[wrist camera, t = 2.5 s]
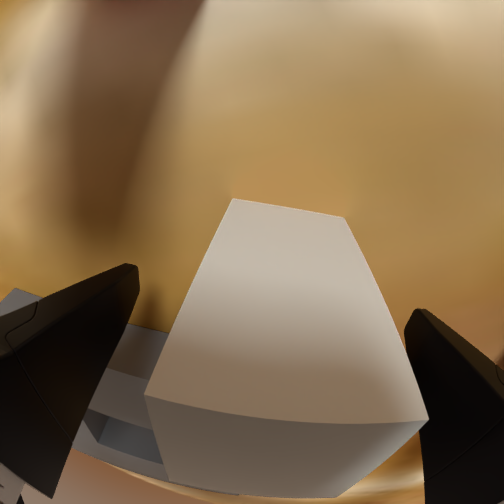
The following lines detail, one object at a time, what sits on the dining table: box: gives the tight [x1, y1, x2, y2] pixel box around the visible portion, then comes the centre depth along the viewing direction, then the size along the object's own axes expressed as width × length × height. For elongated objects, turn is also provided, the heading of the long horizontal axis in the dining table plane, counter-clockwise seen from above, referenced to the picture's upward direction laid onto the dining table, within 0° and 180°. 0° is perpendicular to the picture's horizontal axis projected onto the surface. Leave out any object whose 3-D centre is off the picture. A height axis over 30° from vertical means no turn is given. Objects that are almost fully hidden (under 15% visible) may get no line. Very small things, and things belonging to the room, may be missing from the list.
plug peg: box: [144, 199, 429, 498], centre depth 8 cm, size 4×4×8 cm
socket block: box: [0, 288, 239, 495], centre depth 16 cm, size 16×16×3 cm
